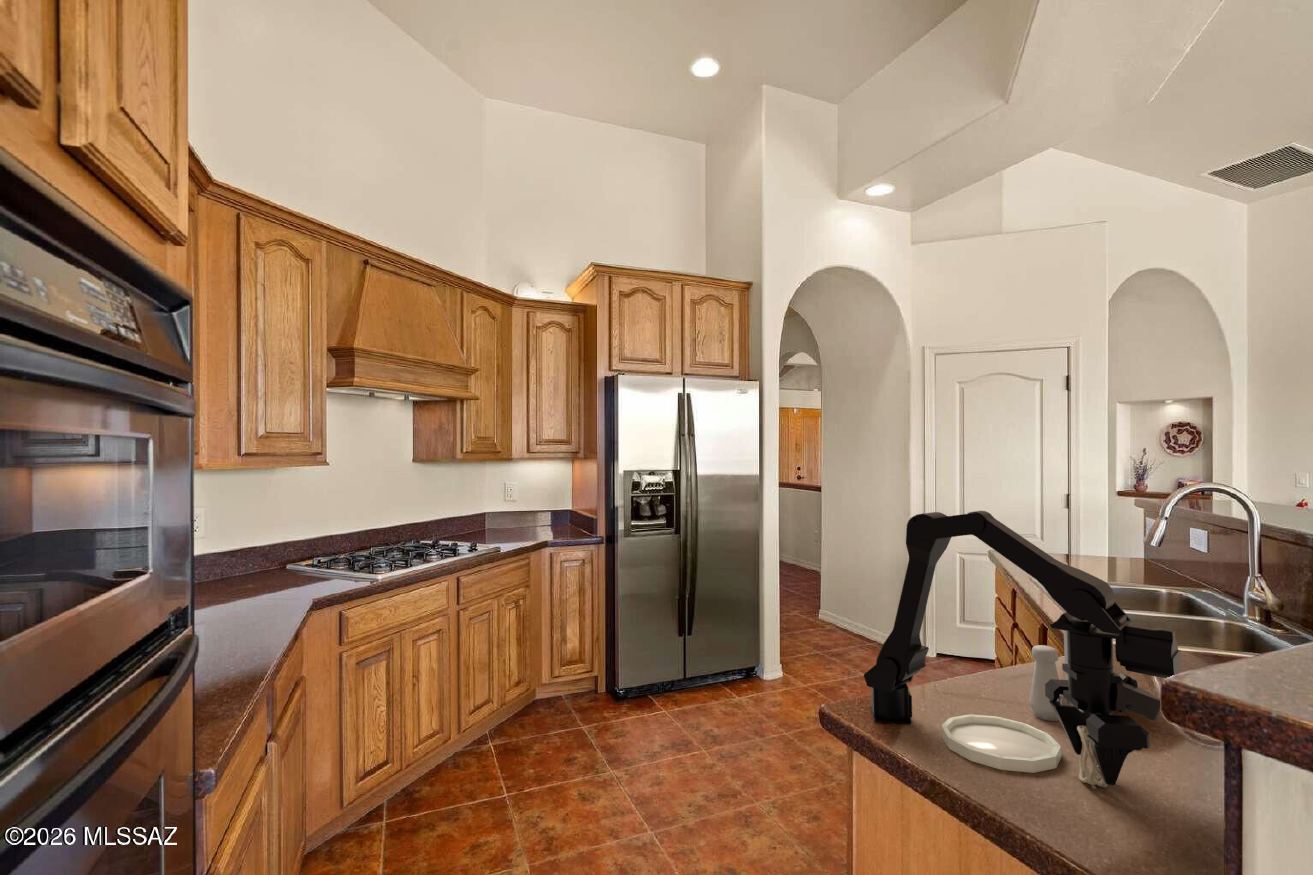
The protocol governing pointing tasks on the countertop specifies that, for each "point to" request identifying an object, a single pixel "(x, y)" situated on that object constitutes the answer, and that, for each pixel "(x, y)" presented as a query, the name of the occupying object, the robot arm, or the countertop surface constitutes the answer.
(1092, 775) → the bracelet
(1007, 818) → the countertop surface
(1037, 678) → the salt shaker
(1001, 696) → the countertop surface
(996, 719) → the ring dish
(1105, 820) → the countertop surface
